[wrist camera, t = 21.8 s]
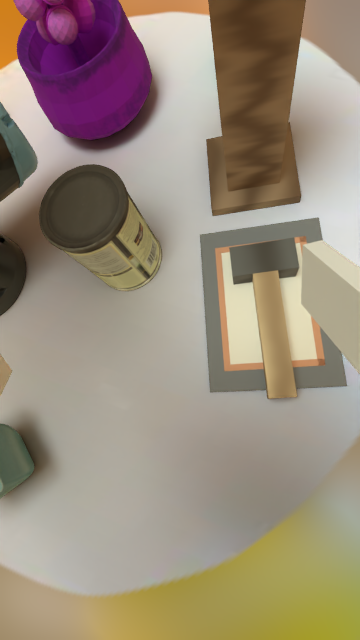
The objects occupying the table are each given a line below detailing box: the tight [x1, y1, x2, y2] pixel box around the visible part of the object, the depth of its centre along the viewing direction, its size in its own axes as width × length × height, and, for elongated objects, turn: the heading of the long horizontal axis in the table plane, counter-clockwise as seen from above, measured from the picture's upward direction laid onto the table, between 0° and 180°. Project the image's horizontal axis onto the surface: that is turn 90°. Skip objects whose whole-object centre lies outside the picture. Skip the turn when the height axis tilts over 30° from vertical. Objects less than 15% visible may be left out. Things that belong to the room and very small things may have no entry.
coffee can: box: [39, 165, 162, 291], centre depth 40 cm, size 10×10×14 cm
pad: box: [200, 218, 347, 392], centre depth 41 cm, size 16×22×1 cm
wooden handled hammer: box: [229, 238, 299, 399], centre depth 38 cm, size 8×19×3 cm, turn 4°
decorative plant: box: [14, 0, 152, 140], centre depth 40 cm, size 19×18×30 cm
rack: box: [206, 0, 306, 216], centre depth 33 cm, size 12×12×28 cm
